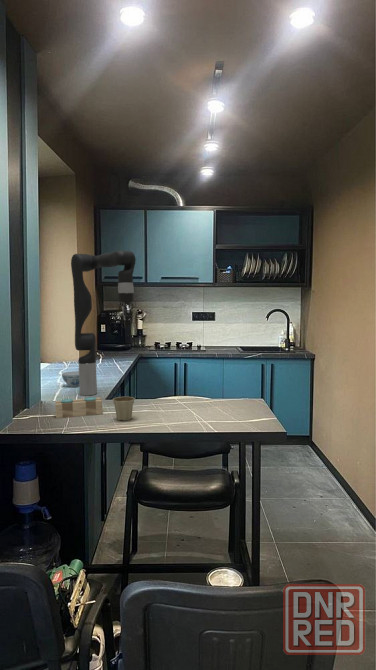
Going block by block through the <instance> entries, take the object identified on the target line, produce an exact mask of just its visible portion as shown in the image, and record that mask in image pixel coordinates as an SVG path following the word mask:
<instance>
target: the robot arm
mask: <svg viewBox="0 0 376 670" xmlns="http://www.w3.org/2000/svg"><path fill="white" fill-rule="evenodd" d="M136 260H137V259H136V256H135V253H133V251H130V250H114V251H113V252H105V253H102V254H100V255H93V254H87V253H74V254H73V255H72V256H71V259H70V268H71V275H72V283H73V305H74V306H73V307H74V346H75V350H76V351H81V352H82V351H89V352H87V354H85V355H82V356H80V357H78V371H79V396H87V397H88V396H95V395H97V394H98V384H97V383H98V382H97V381H98V380H97V379H98V378H97V358H96V357H97V355H96V335H95V333H94V332H87V333H86V332H82V330H83V327H84V324H85V322H86V320H87V319H88V317H89V316H90V314H91V312H92V310H93V307H92V306H93V300H92V298H93V297H92V294H91V293H90V291H89V289H88V287H87V286H86V284H85V281H84V273H86V272H90V271H93V270H96V269H99V268H112V267H113V268H114V267H116V266H123V270H119V271H118V274H117V279H118V280H117V282H118V283H117V292H118V293H117V294H118V295H117V298H118V300H117V301H118V303H122V305H121V311H122V318H123V321H124V329H129V328H130V319H131V313H132V306H131V305H130V304H131V303H134V301H135V294H134V292H135V291H134V289H135V288H134V282H133V281H134V279H133V278H134V277H133V274H134V270H135V265H136Z"/></svg>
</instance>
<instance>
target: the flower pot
mask: <svg viewBox="0 0 376 670" xmlns="http://www.w3.org/2000/svg"><path fill="white" fill-rule="evenodd" d="M135 400H136V398H135V397H132V396H119V397H114V398H112V402H113V405H114V410H115V416H116V420H118V421H129V420H131V419H132V417H133V409H134V408H133V407H134V403H135Z"/></svg>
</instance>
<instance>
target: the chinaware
mask: <svg viewBox="0 0 376 670" xmlns="http://www.w3.org/2000/svg"><path fill="white" fill-rule="evenodd" d="M61 377H62V380H63V381H64V382H65V383H66V384H67V385H68V386H69V388H78V386H79V370H76V371H67V372H62V373H61ZM79 387H80V386H79Z"/></svg>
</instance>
